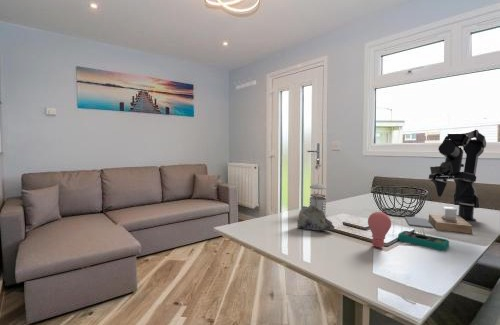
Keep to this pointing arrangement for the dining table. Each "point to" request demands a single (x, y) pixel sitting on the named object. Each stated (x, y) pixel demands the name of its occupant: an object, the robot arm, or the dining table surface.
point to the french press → (318, 197)
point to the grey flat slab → (418, 222)
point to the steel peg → (449, 213)
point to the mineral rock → (313, 219)
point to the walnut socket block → (450, 224)
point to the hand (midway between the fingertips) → (447, 197)
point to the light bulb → (379, 227)
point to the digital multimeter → (424, 240)
